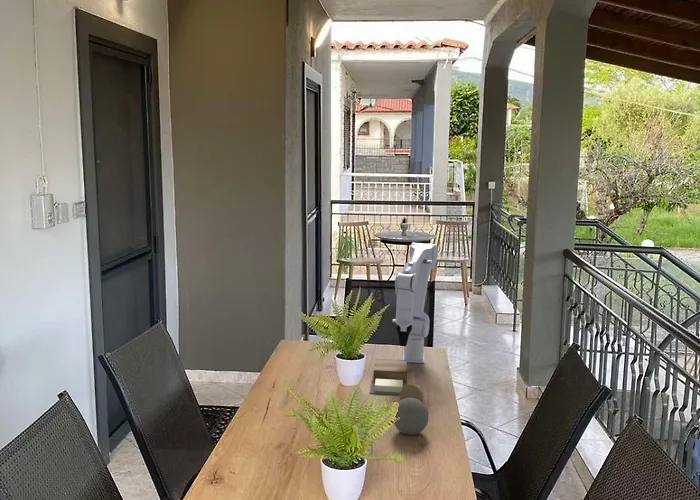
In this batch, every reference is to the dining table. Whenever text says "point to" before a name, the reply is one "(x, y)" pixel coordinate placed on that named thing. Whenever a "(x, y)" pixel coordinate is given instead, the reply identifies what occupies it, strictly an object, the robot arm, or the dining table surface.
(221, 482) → the dining table surface
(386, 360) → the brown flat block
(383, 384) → the cream rectangular block
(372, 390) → the mat
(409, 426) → the decorative ball
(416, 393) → the tan short cylinder
